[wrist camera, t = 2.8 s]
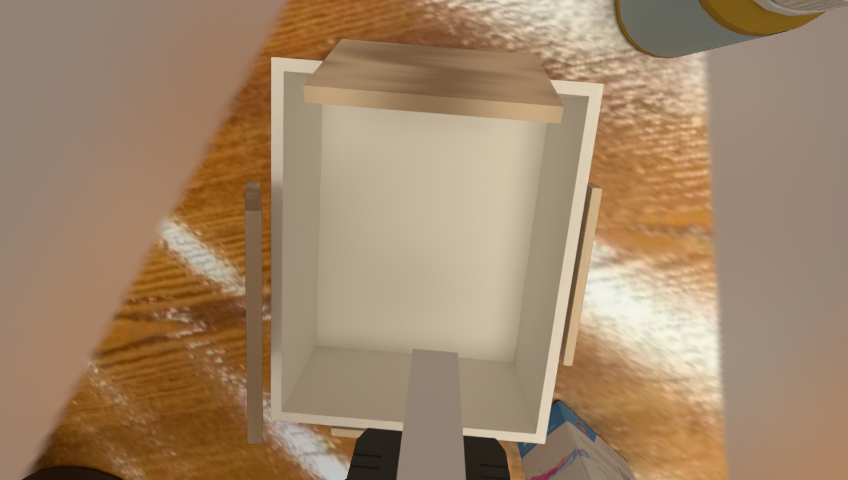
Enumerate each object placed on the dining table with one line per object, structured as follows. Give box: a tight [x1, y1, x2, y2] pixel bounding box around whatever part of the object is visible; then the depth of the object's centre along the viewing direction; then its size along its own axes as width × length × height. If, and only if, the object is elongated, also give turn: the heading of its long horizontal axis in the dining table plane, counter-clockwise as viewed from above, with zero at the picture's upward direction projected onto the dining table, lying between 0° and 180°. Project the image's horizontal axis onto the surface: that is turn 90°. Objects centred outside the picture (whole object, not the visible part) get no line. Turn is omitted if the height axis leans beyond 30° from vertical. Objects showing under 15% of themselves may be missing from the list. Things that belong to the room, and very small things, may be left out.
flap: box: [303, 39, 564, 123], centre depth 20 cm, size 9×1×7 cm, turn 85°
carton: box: [271, 57, 604, 444], centre depth 30 cm, size 17×21×9 cm
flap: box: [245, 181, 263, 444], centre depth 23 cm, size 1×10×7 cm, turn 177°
